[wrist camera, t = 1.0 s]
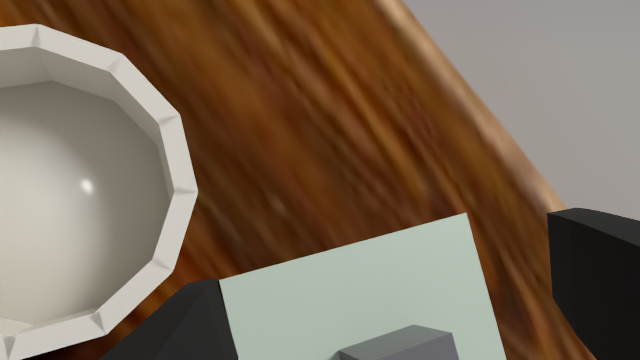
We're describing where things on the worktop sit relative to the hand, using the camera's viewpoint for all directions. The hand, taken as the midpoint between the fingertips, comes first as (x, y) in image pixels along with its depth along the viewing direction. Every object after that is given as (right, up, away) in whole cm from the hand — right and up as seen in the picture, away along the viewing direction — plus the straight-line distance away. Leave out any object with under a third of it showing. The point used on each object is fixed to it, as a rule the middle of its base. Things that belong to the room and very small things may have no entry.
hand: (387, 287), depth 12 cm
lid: (+1, -7, +15) cm, 16 cm away
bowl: (-13, +1, +11) cm, 17 cm away
